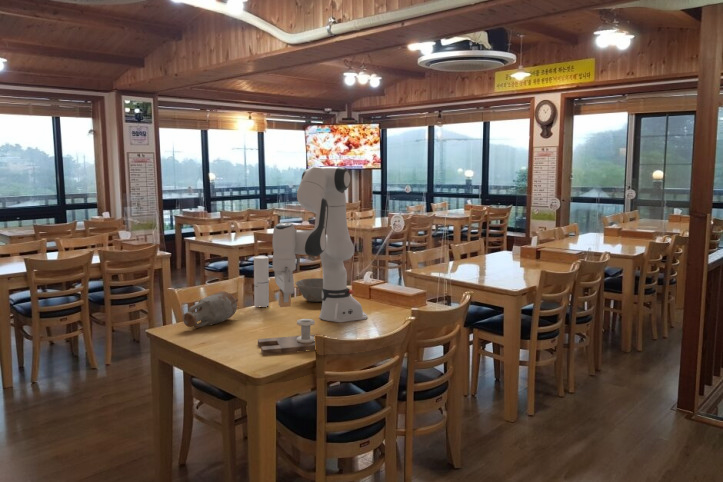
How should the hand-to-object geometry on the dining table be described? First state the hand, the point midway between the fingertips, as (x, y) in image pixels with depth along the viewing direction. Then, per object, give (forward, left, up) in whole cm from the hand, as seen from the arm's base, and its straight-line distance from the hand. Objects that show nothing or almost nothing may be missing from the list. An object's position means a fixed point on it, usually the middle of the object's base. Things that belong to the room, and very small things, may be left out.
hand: (284, 300), depth 224 cm
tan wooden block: (0, 0, -2) cm, 2 cm away
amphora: (+25, -43, -19) cm, 53 cm away
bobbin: (-8, 0, -17) cm, 19 cm away
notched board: (-2, 0, -19) cm, 19 cm away
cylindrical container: (0, -68, -19) cm, 71 cm away
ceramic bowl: (-30, -73, -19) cm, 82 cm away
